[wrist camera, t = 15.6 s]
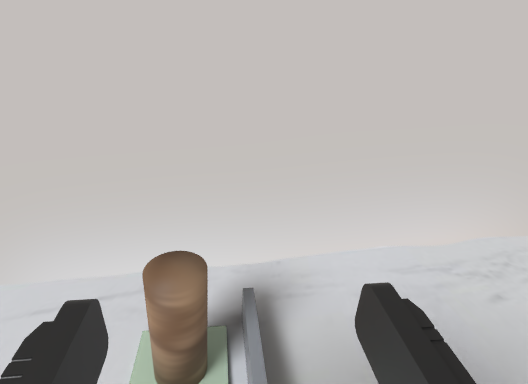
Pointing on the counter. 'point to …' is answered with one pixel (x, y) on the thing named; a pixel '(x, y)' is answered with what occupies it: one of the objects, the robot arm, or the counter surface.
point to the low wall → (252, 339)
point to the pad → (216, 359)
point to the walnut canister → (177, 316)
